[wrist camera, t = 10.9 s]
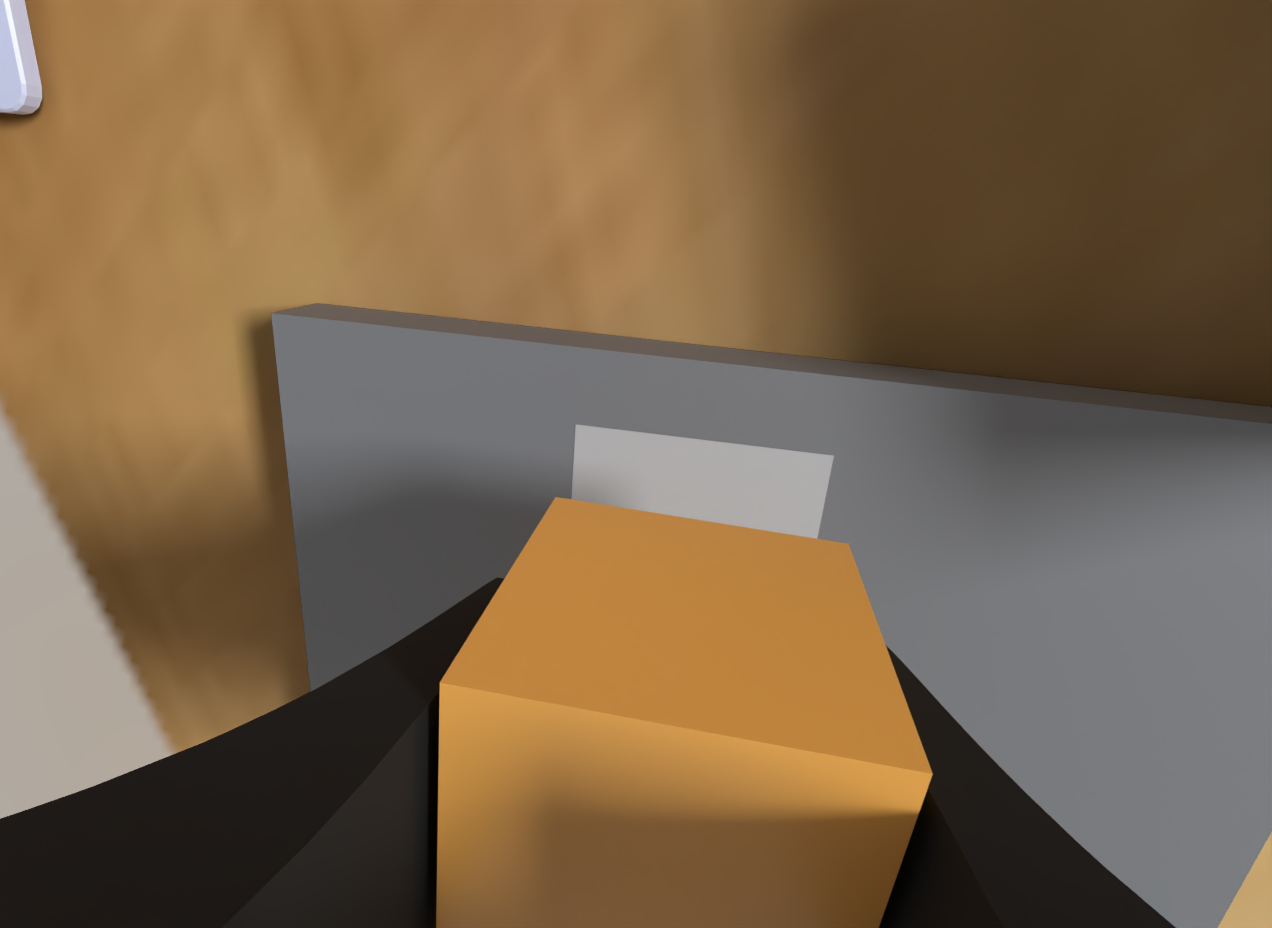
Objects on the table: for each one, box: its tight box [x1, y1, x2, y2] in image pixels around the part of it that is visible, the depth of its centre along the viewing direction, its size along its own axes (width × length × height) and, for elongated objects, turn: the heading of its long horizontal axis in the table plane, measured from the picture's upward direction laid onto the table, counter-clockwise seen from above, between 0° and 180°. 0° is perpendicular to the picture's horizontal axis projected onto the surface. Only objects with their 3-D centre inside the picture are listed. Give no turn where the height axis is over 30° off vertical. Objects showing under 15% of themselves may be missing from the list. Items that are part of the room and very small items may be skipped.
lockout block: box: [436, 497, 933, 928], centre depth 8 cm, size 4×4×4 cm
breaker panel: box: [271, 303, 1272, 928], centre depth 14 cm, size 20×14×2 cm
